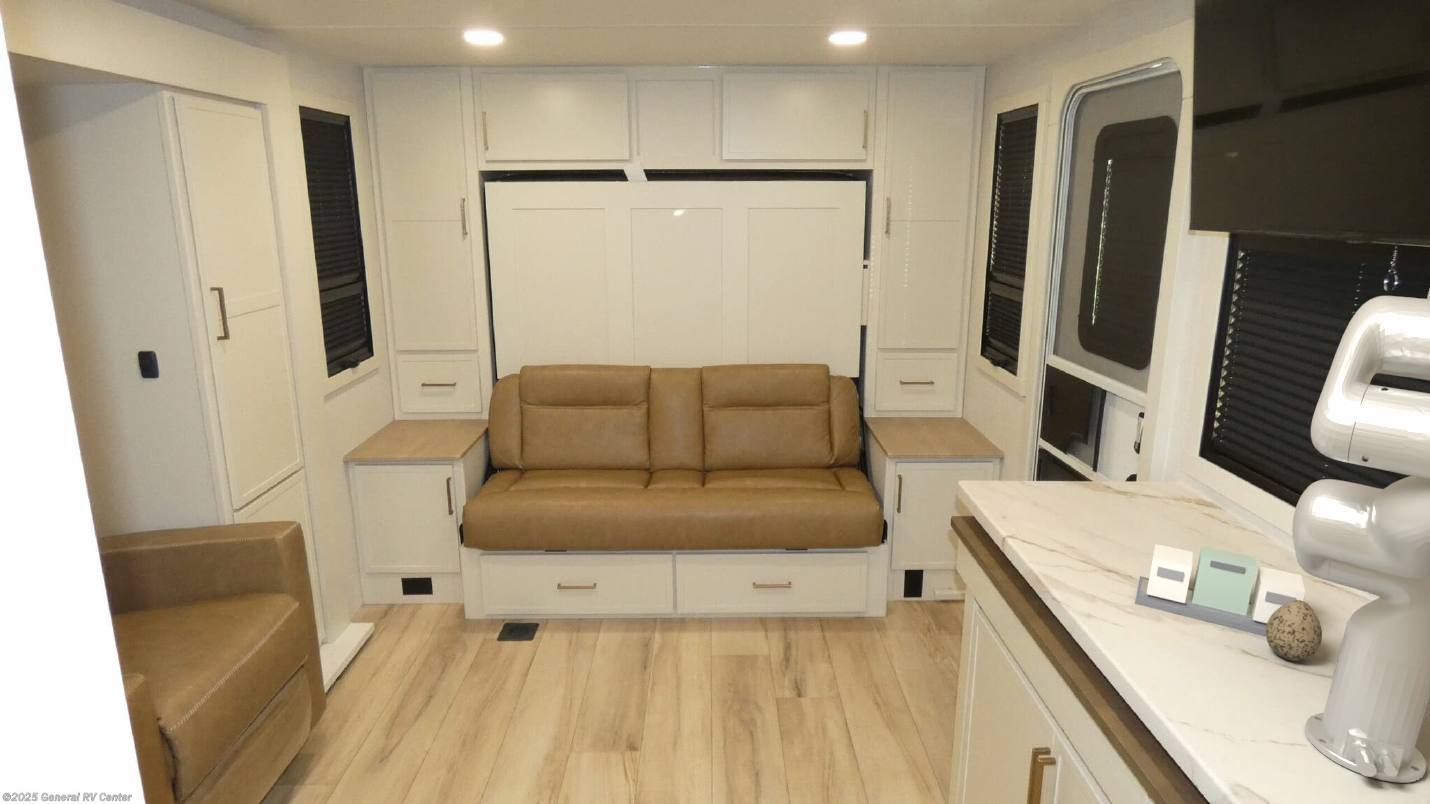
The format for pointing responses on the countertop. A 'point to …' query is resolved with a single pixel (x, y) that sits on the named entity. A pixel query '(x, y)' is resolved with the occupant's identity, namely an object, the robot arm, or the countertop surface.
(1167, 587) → the board
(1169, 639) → the countertop surface
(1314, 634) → the decorative egg
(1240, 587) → the block
